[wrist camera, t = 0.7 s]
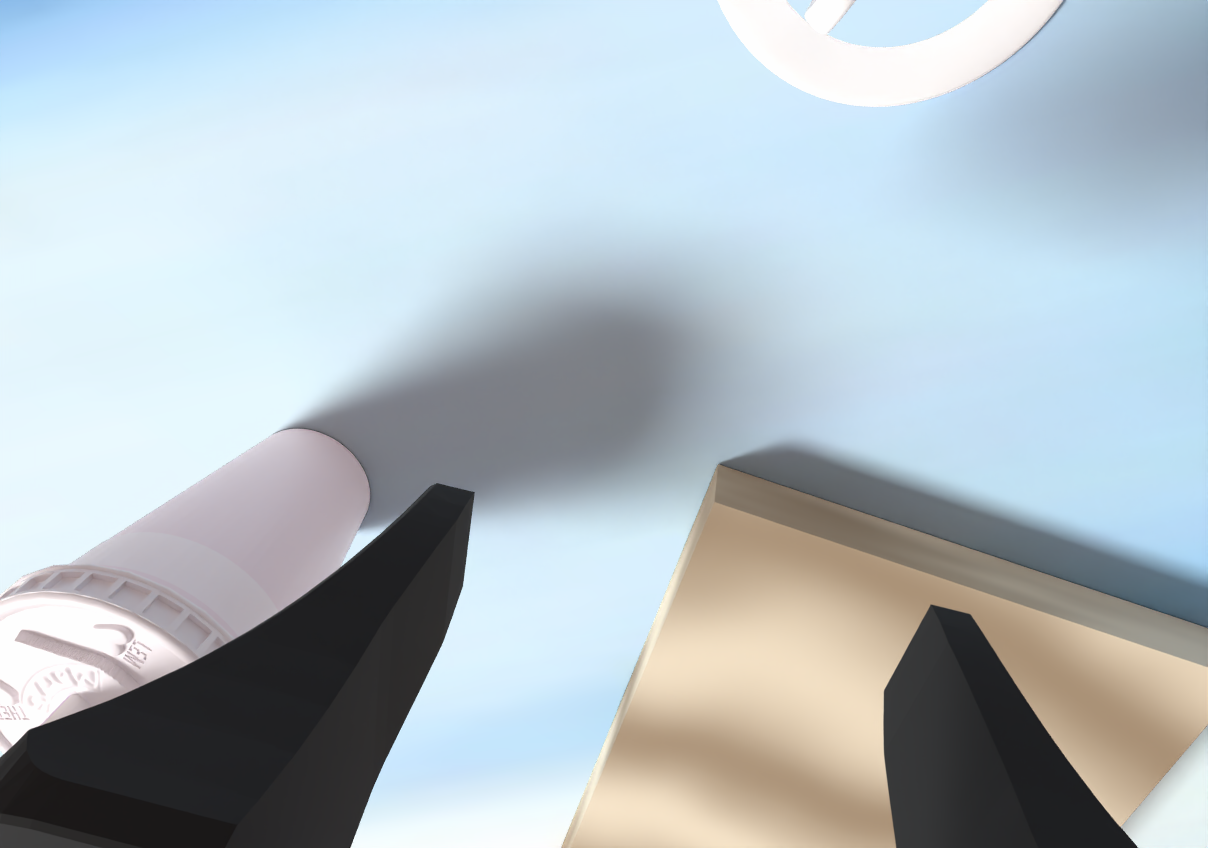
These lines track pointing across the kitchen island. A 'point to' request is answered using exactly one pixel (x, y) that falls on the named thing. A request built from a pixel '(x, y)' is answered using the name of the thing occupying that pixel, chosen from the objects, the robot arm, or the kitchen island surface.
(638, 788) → the base board
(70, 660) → the smoothie
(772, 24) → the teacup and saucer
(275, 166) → the kitchen island surface
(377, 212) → the kitchen island surface
